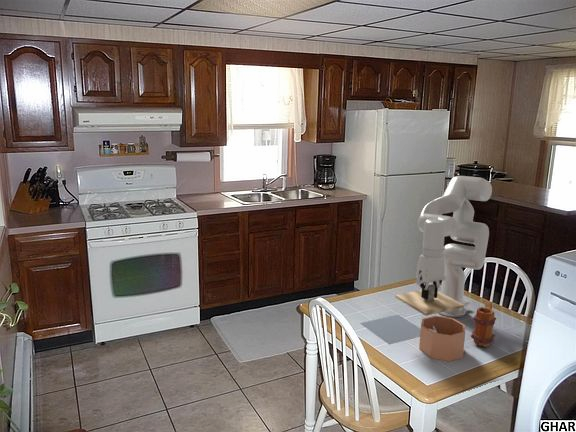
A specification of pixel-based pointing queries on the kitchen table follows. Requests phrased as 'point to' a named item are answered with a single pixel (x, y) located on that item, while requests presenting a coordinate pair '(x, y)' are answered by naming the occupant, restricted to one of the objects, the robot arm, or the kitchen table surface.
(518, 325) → the kitchen table surface
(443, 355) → the bowl
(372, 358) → the kitchen table surface
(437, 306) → the lid
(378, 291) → the kitchen table surface
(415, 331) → the mat
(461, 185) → the robot arm
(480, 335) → the mug
